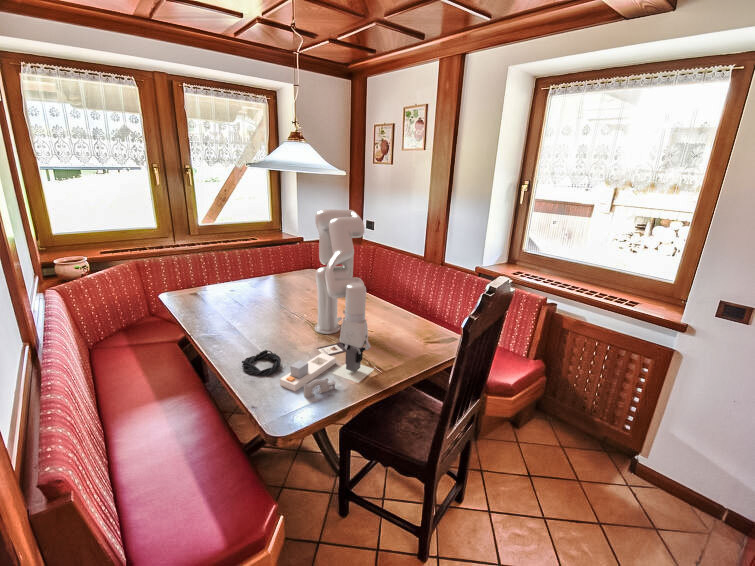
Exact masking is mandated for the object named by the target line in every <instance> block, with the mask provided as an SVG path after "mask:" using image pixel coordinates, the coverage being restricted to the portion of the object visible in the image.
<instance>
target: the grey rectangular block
mask: <svg viewBox="0 0 755 566" xmlns="http://www.w3.org/2000/svg"><path fill="white" fill-rule="evenodd" d="M357 353H358V351H357V347H354V346H352V347H351V348H349V349H348V350H346V352H345V363H344V364H346V369H347V370H350V371H353V372H356V371H357V370H358V369H359V368H360V364H361V362H362V360H361V361H360V362H359V363H356V355H357Z"/></svg>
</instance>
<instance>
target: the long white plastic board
mask: <svg viewBox="0 0 755 566" xmlns="http://www.w3.org/2000/svg"><path fill="white" fill-rule="evenodd" d="M336 361H337V360H336V357H335V356H333V355H331V356H329V355H326V354H323V353H321V352H320V353H319V354H318V355H316V356H315V357H313V358H311V359H310V360H307V361H305V362H306V363H308V373H307V375H305V376H304V377H302V378H301V379H297V378H294V377H292V376H291V371H290V372H289V373H287V374H286V375H284V376H282V377H280V379H279V385H280V387H283V388H286V389H288V390H290V391H293V392H297V391H298V390H299V389H302V387H303V385H306V384H309V383H310V382H312V381H313V380H315V378H317V377H318V376H319V375H321V374H323V373H324V372H325V371H327V370H329V368H331V367H333V366H334V365H335V364H336Z"/></svg>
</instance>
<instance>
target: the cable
mask: <svg viewBox="0 0 755 566" xmlns="http://www.w3.org/2000/svg"><path fill="white" fill-rule="evenodd" d="M262 359H268V360H269V361H270V362H271V363H273V365H272V367H268V368H265V369H262V370H261V369H260V368H258V367H257V366H256V365H255V364H254V362H255V361H257V360H262ZM281 362H282V359H281V357H280V356H279V355H278V354H277V353H275V352H274V353H273V352H272V351H271V350H268V349H265V350H262V351H260V352H259V353H256V354H254V355H252V356H250V357H248V356H247V357H246V358H244V360H241V364H242V368H243V370H244V372H245V373H246V374H247V375H248V374H250V375H252V376H257V377H260V376H261V377H267V376H269V375H271V374H275V373H276V372H277V371H278V369H279V368H280V367H281Z"/></svg>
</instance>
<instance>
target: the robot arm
mask: <svg viewBox="0 0 755 566" xmlns="http://www.w3.org/2000/svg"><path fill="white" fill-rule="evenodd" d="M314 219H315V220H314V221H315V225H316V229H317V233H318V235H319V236H318V237H319V238H318V239H319V243H318V244H319V245H318V258H319V262H320V264H322V265H325V266H322V267H319V268H317V269H316V270H315V283H316V286H317V287H316V289H317V323H316V324H315V325H314V331H315V332H316V333H318V334H323V335H332V334H336V333H338V332H340V333H339V335H340V336H339V337H338V341H339V343H340V342H341V343H342V344H343V346H344V347H345V350H348V349H349V348H351V346H354V347H357V351H358V353H357V355H356V363H359V362H360V361H361V362H362V361H363V355H364V354H363V353H364V352H365V351H368V350H369V349H371V348H372V346H371V344H370V342H369V331H368V321H367V319H366V305H367V304H366V302H367V301H366V300H367V287H366V286H365V283H364V281H363V280H362V278H360V277H357V276H356V277H355V276H354V275H353V274H354V258H355V257H354V254H355V248H354V243H353V239H356V238H359V239H360V238H362V237H363V236H364V234H365V224H364V221H363V219H362V218H361V217H360V215H359V214H358V213H357V212H356V211H355V210H353V209H321V210H318V211H317V212H316V214H315V218H314ZM343 298H345V299H344V302H345V303H344V304H345V305H344V309H343V311H342V313H343V314H344V317H342V316H338V302H339V301H338V299H343ZM340 321H342V322H341V326H340V324H339V322H340Z"/></svg>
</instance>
